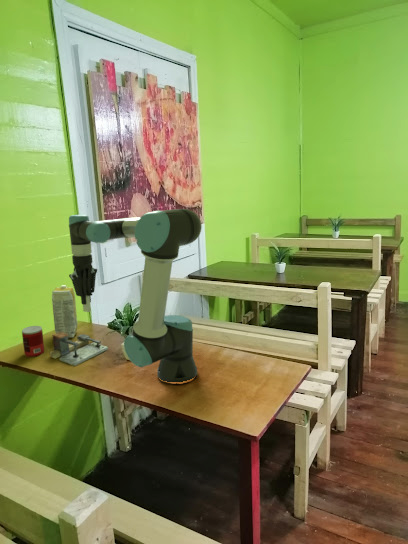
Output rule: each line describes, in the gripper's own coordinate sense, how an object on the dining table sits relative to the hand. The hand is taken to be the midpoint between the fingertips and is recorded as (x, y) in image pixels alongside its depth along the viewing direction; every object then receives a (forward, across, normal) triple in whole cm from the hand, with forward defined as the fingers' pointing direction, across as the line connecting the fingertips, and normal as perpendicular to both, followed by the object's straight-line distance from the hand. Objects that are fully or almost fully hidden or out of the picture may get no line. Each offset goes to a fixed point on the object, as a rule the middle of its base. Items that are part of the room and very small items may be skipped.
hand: (87, 311), depth 164 cm
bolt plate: (+20, +1, -3) cm, 20 cm away
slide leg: (+19, +5, -8) cm, 21 cm away
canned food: (+19, +11, -22) cm, 31 cm away
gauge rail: (+20, +1, -8) cm, 21 cm away
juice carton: (+19, -10, -26) cm, 33 cm away
